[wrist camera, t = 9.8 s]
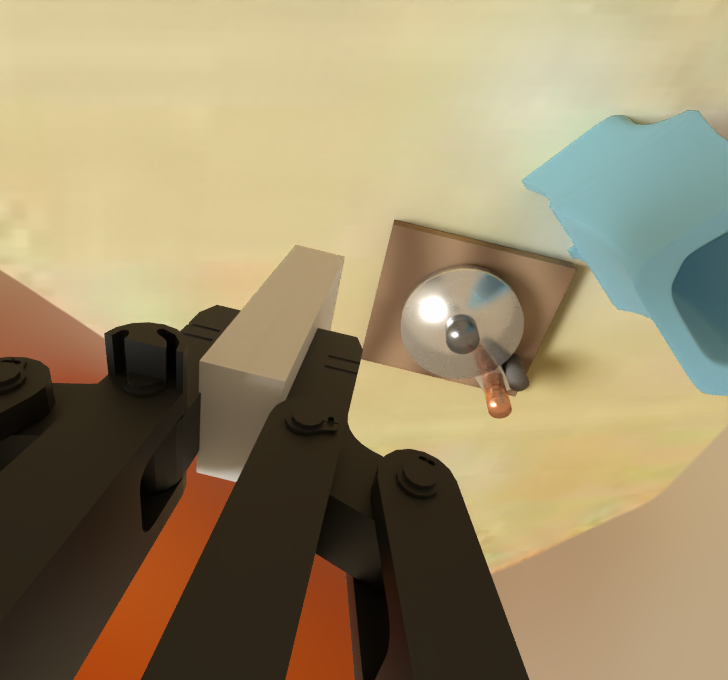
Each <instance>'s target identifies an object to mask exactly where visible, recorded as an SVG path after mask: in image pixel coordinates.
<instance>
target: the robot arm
mask: <svg viewBox="0 0 728 680" xmlns="http://www.w3.org/2000/svg"><path fill="white" fill-rule="evenodd" d="M344 258H345V257H344V256H340V255H336V254H331V253H327V252H323V251H319V250H315V249H311V248H307V247H303V246H299V245H295V246H294V248H293V249H292V250H291V251H290V252H289V254H288V255H287V256H286V257H285V258H284V260H283V261H282V262H281V263H280V264H279V266H278V267H277V268H276V269H275V270H274V272H273V273H272V274H271V275H270V276H269V278H268V279H267V280H266V281H265V283H264V284H263V285H262V286H261V287H260V289H259V290H258V291H257V292H256V293H255V295H254V296H253V297H252V298H251V299H250V301H249V302H248V303H247V304H246V305H245V307H244V308H243V309H242V310H241V311H240V310H236V309H232V308H228V307H224V306H219V305H216V306H213V307H211V308H209V309H206V310H204V311H201V312H199V313H198V314H197V315H196V316H195V317H194V318H193V319H192V320H191V321H190V322H189V325H186V326H185V327H184V328H183V329H182V330H181V331H178V330H177V329H175V328H172V327H169V326H167V325H164V324H156V323H149V322H148V323H131V324H127V325H123V326H119V327H116V328H114V329H112V330H110V331H108V332H106V333H104V335H105V345H106V355H107V365H108V375H107V376H106V377H105V378H104V379H103V380H102V381H100V382H99V383H98V384H69V383H52V381H51V375H50V371H49V368H48V367H47V366H45V365H44V364H43V363H41V362H40V361H37V360H33V359H29V358H24V357H3V358H0V680H73V679H74V677H75V676H76V674H77V672H78V671H79V669H80V667H81V666H82V664H83V662H84V660H85V659H86V657H87V655H88V653H89V652H90V650H91V649H92V647H93V645H94V644H95V642H96V640H97V639H98V637H99V635H100V633H101V632H102V630H103V628H104V627H105V625H106V623H107V622H108V620H109V618H110V617H111V615H112V613H113V612H114V610H115V608H116V606H117V605H118V603H119V601H120V600H121V598H122V596H123V594H124V593H125V591H126V589H127V588H128V586H129V585H130V583H131V581H132V579H133V578H134V576H135V574H136V573H137V571H138V569H139V568H140V566H141V564H142V563H143V561H144V559H145V557H146V556H147V554H148V552H149V551H150V549H151V547H152V546H153V544H154V542H155V541H156V539H157V537H158V535H159V534H160V532H161V531H162V529H163V527H164V525H165V524H166V522H167V520H168V519H169V517H170V515H171V514H172V512H173V510H174V508H175V507H176V505H177V504H178V502H179V500H180V498H181V497H182V495H183V492H184V489H185V486H186V471H187V469H188V467H189V466H190V464H191V462H192V461H193V459H194V458H195V456H196V455H197V473H202V474H206V475H210V476H214V477H218V478H222V479H226V480H231V481H234V482H236V484H235V486H234V488H233V490H232V492H231V494H230V496H229V498H228V500H227V502H226V505H225V507H224V509H223V511H222V513H221V515H220V517H219V519H218V521H217V523H216V525H215V528H214V529H213V532H212V534H211V536H210V538H209V540H208V542H207V544H206V546H205V548H204V550H203V552H202V554H201V556H200V558H199V560H198V563H197V565H196V567H195V569H194V571H193V573H192V575H191V577H190V579H189V581H188V583H187V585H186V587H185V589H184V591H183V594H182V596H181V598H180V600H179V602H178V604H177V606H176V608H175V610H174V612H173V614H172V617H171V618H170V620H169V623H168V625H167V627H166V629H165V631H164V633H163V635H162V637H161V639H160V641H159V644H158V646H157V648H156V650H155V652H154V654H153V656H152V658H151V660H150V662H149V664H148V666H147V669H146V670H145V672H144V674H143V676H142V678H141V680H285V678H286V674H287V670H288V666H289V661H290V657H291V653H292V649H293V645H294V640H295V636H296V632H297V628H298V623H299V619H300V615H301V611H302V607H303V602H304V598H305V594H306V590H307V586H308V582H309V577H310V573H311V569H312V565H313V561H314V556H315V553H316V554H318V555H319V556H321V557H322V558H324V559H325V560H327V561H329V562H330V563H332V564H333V565H335V566H337V567H338V568H340V569H341V570H343V571H345V572H346V579H347V592H348V603H349V616H350V628H351V639H352V651H353V663H354V675H355V680H529V678H528V675H527V673H526V669H525V667H524V664H523V661H522V659H521V656H520V653H519V650H518V648H517V645H516V642H515V639H514V637H513V634H512V632H511V629H510V626H509V623H508V621H507V618H506V615H505V612H504V609H503V607H502V604H501V601H500V598H499V596H498V593H497V590H496V587H495V585H494V582H493V579H492V577H491V574H490V571H489V568H488V566H487V563H486V560H485V557H484V555H483V552H482V549H481V546H480V544H479V541H478V538H477V535H476V533H475V530H474V527H473V525H472V522H471V519H470V516H469V514H468V511H467V508H466V505H465V503H464V500H463V497H462V494H461V492H460V489H459V486H458V484H457V481H456V479H455V478H454V476H453V474H452V473H451V471H450V469H449V468H447V467H446V466H445V465H444V464H443V463H442V462H441V461H440V460H439V459H437V458H435V457H433V456H431V455H429V454H427V453H425V452H422V451H417V450H412V449H403V450H395V451H393V452H391V453H389V454H387V455H385V456H384V457H383V456H381V455H379V454H377V453H375V452H373V451H372V450H370V449H368V448H367V447H365V446H364V445H362V444H361V443H360V442H359V441H358V440H357V439H356V438H355V437H354V435H353V434H352V432H351V431H350V429H349V425H348V412H349V408H350V403H351V399H352V395H353V391H354V386H355V382H356V378H357V373H358V369H359V365H360V361H361V356H362V352H363V349H362V347H361V345H360V342H359V340H358V338H357V337H353V336H349V335H345V334H341V333H337V332H333V331H330V329H331V324H332V319H333V314H334V309H335V304H336V299H337V293H338V288H339V283H340V278H341V273H342V268H343V263H344Z"/></svg>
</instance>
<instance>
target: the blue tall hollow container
mask: <svg viewBox="0 0 728 680" xmlns="http://www.w3.org/2000/svg"><path fill="white" fill-rule="evenodd" d="M521 181H522V182H523V184H524V185H525V187H526V188H527V189H529V190H531V191H534V192H537V193H539V194H541V195H543V196H545V197H547V198H548V199H550V206H549V207H550V208H551V210H552V211H553V213H554V214H555V216H556V217H557V219H558V220H559V222H560V223H561V225H562V227H563V228H564V230H565V231H566V233H567V234H568V236H569V237H570V239H571V240H572V242H573V243H574V246H573V247H571V248H570V249H568V252H569V253H570V255H571V256H572V258H574V259H579V260H583V261H585V262H586V263H587V264H588V266H589V268H590V269H591V271H592V272H593V274H594V275H595V277H596V279H597V280H598V282H599V283H600V285H601V286H602V288H603V290H604V291H605V293H606V294H607V296H608V297H609V299H610V300H611V302H612V303H613V304H614V306H615V307H616V308H617V309H618V310H623V311H629V312H634V313H638V314H641V315H643V316H646V317H648V318H650V319H652V320H653V321H654V323H655V324H656V326H657V328H658V329H659V331H660V333H661V334H662V336H663V337H664V339H665V341H666V342H667V344H668V345H669V347H670V349H671V350H672V352H673V353H674V355H675V357H676V358H677V360H678V361H679V363H680V365H681V366H682V368H683V369H684V371H685V373H686V374H687V376H688V377H689V379H690V380H691V381H692V383H693V384H694V385H695V387H696V388H697V389H698V390H700V391H701V392H703V393H705V394H712V395H722V396H727V395H728V140H726V139H725V138H723V137H722V136H720V135H719V134H717V133H716V132H715V131H714V130H713V129H712V127H711V126H710V125H709V124H708V123H707V122H706V120H705V119H704V118H703V117H702V115H701V114H700V113H699V111H693V110H687V111H686V112H683V113H681V114H679V115H676V116H674V117H672V118H669V119H666V120H664V121H661V122H657V123H654V124H648V125H639V124H635V123H634V122H632V121H631V120H630V119H629V118H628V117H626V116H622V115H615V116H611V117H609V118H607V119H605V120H603V121H602V122H600V123H599V124H597V125H596V126H594V127H593V128H592V129H590V130H589V131H588V132H586V133H585V134H584V135H582V136H581V137H579V138H578V139H577V140H575V141H574V142H573V143H571V144H570V145H569V146H567V147H566V148H565V149H563V150H562V151H561V152H559V153H558V154H557V155H555V156H554V157H552V158H551V159H550V160H548V161H547V162H546V163H544V164H543V165H542V166H540V167H539V168H538V169H536V170H535V171H534V172H532V173H531V174H530V175H528V176H527V177H525V178H524V179H523V180H521Z"/></svg>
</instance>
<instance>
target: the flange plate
mask: <svg viewBox="0 0 728 680" xmlns="http://www.w3.org/2000/svg"><path fill="white" fill-rule="evenodd" d="M523 330H524V316H523V311H522V307H521V305H520V303H519V300H518V298H517V296H516V294H515V292H514V290H513V289H512V287H511V286H510V285H509V284H508V283H507V281H505V280H504V279H503V278H502V277H501V276H499V275H498V274H496V273H495V272H493V271H490V270H488V269H486V268H482V267H479V266H474V265H453V266H448V267H445V268H441V269H438V270H436V271H434V272H432V273H430V274H429V275H427V276H426V277H424V278H423V279H422V280H420V281H419V282H418V283H417V284H416V285H415V286H414V287H413V289H412V290H411V291H410V293H409V294H408V296H407V298H406V300H405V303H404V306H403V310H402V316H401V336H402V340H403V343H404V346H405V348H406V350H407V352H408V353H409V355H410V356H411V357H412V359H413V360H414V361H415V362H416V363H417V364H419V365H420V366H421V367H423V368H424V369H426V370H427V371H429V372H431V373H434V374H436V375H439V376H442V377H447V378H455V379H464V378H472V377H475V379H476V380H477V382H478V383H479V385H480V387H481V388H482V390H483V391H484V393H485V397H486V402H487V407H488V412H489V414H490V415H491V416H492V417H494V418H504V417H507V416H508V415H509V414H510V413H511V410H512V408H511V404H510V400H509V397H508V393H507V391H508V390H510V389H511V388H510V387H509V384H508V380H507V377H506V374H505V370H504V367H503V365H502V364H503V363H504V362H506V361H507V360H508V359H509V358H510V357H511V355H512V354H513V353H514V351H515V350H516V349H517V347H518V345H519V343H520V340H521V338H522V334H523Z"/></svg>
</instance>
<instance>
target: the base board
mask: <svg viewBox="0 0 728 680" xmlns="http://www.w3.org/2000/svg"><path fill="white" fill-rule="evenodd" d="M453 265H474V266H479V267H482V268H486V269H488V270H490V271H493V272H495V273H496V274H498V275H499V276H501V277H502V278H503V279H504V280H505V281H507V283H508V284H509V285H510V286H511V287H512V289H513V290H514V292H515V294H516V296H517V298H518V300H519V303H520V305H521V307H522V311H523V316H524V330H523V334H522V338H521V340H520V343H519V345H518V347H517V349H516V350H515V351H514V353H513V354H512V355H511V357H510V358H509V359H508V360H507V361H506V362H504V363H503V364H502V365H503V367H504V370H505V374H506V377H507V380H508V384H509V387H510V388H511V389H510V390H508V391H507V393H508V395H511V396H516V394H517V392H518V391H523V390H525V389H526V388H527V387H528V385H529V381H528V378H527V375H526V373H527V371H528V369H529V367H530V365H531V363H532V361H533V359H534V357H535V354H536V352H537V350H538V348H539V346H540V344H541V342H542V340H543V338H544V336H545V334H546V332H547V330H548V327H549V325H550V323H551V321H552V319H553V317H554V315H555V313H556V311H557V309H558V307H559V305H560V303H561V300H562V298H563V296H564V294H565V292H566V290H567V288H568V286H569V284H570V282H571V280H572V278H573V275H574V273H575V271H576V268H575V267H574V266H573V265H572V263H570V262H565V261H561V260H557V259H553V258H549V257H545V256H541V255H537V254H533V253H528V252H524V251H520V250H516V249H512V248H508V247H504V246H500V245H496V244H491V243H487V242H483V241H479V240H475V239H471V238H467V237H463V236H459V235H454V234H450V233H446V232H442V231H438V230H434V229H430V228H426V227H422V226H417V225H413V224H409V223H405V222H401V221H397V220H394V223H393V227H392V231H391V235H390V239H389V244H388V248H387V252H386V256H385V260H384V264H383V268H382V272H381V276H380V280H379V284H378V288H377V293H376V297H375V301H374V305H373V309H372V313H371V317H370V321H369V325H368V329H367V333H366V337H365V342H364V346H363V352H362V356H361V359H363V360H367V361H371V362H375V363H379V364H383V365H387V366H392V367H396V368H400V369H404V370H408V371H412V372H416V373H420V374H424V375H429V376H433V377H437V378H441V379H445V380H449V381H453V382H457V383H462V384H466V385H470V386H474V387H478V388H481V387H480V385H479V383H478V382H477V380H476V379H475V377H472V378H464V379H455V378H447V377H442V376H439V375H436V374H434V373H431V372H429V371H427V370H426V369H424V368H423V367H421V366H420V365H419V364H417V363H416V362H415V361H414V360H413V359H412V357H411V356H410V355H409V353H408V352H407V350H406V348H405V346H404V343H403V340H402V336H401V316H402V310H403V306H404V303H405V300H406V298H407V296H408V294H409V293H410V291H411V290H412V289H413V287H414V286H415V285H416V284H417V283H418V282H419V281H420V280H422V279H423V278H424V277H426V276H427V275H429V274H430V273H432V272H434V271H436V270H438V269H441V268H445V267H448V266H453Z"/></svg>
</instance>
